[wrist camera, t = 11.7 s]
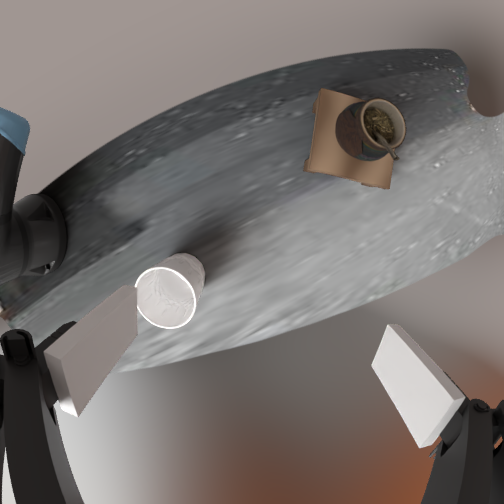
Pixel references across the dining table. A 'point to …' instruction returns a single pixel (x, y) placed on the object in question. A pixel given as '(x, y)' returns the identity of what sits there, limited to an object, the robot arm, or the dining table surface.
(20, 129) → the robot arm
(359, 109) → the mate gourd
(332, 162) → the walnut stool
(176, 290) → the white cup
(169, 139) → the dining table surface
